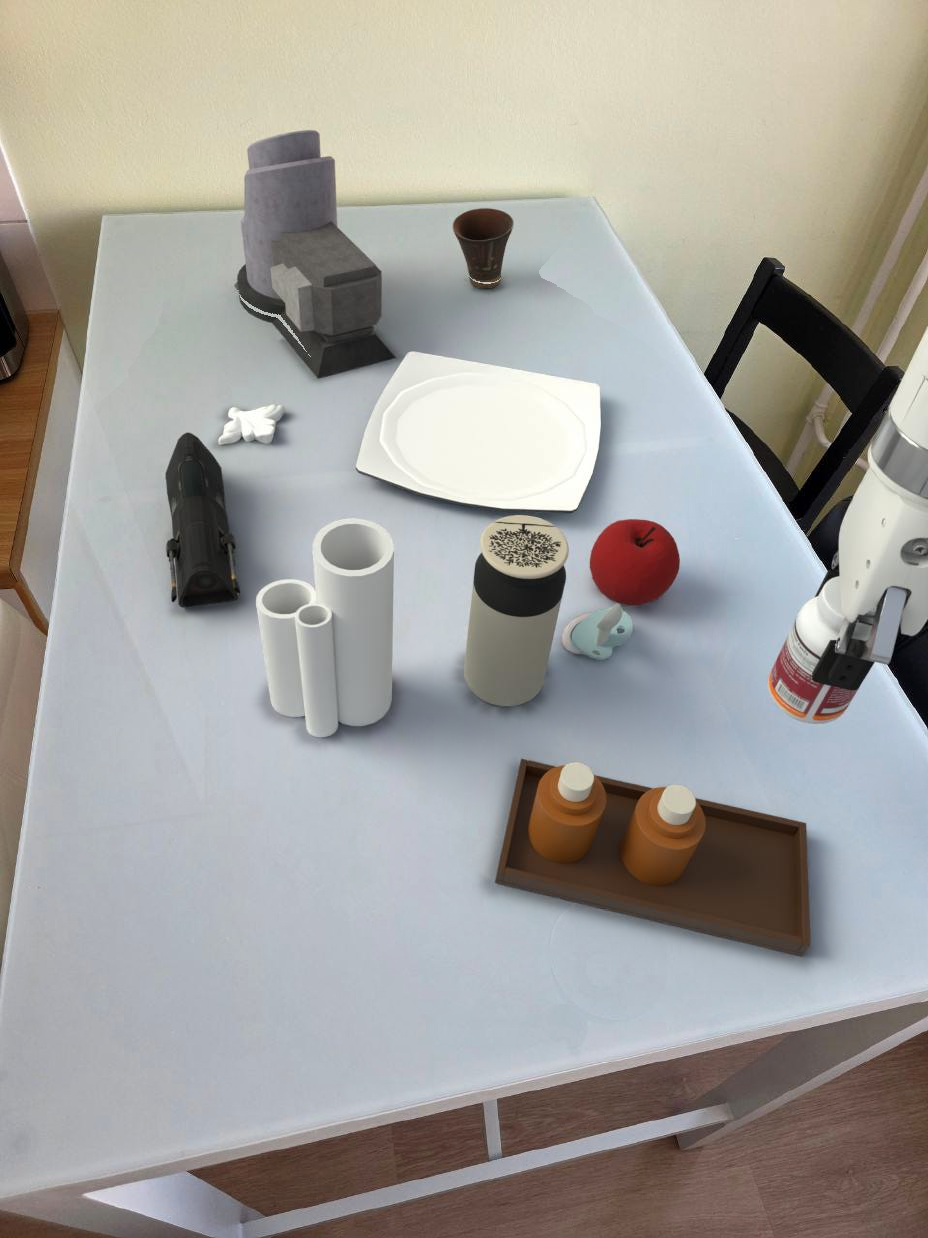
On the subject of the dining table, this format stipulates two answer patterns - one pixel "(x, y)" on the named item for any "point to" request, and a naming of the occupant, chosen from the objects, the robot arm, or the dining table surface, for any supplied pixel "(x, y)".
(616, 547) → the apple
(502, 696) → the travel mug
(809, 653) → the pill bottle
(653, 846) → the amber bottle middle
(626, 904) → the tray
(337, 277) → the juicer
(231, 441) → the acanthus leaf ornament
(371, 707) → the vase
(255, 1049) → the dining table surface
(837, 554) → the robot arm
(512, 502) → the plate
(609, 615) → the pacifier
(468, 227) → the cup
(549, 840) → the amber bottle far
